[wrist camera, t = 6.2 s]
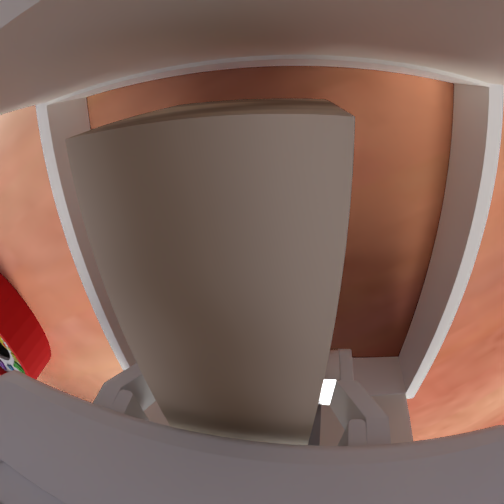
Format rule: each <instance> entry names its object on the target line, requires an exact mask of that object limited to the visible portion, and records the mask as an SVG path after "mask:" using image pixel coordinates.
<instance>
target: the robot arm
mask: <svg viewBox="0 0 504 504" xmlns="http://www.w3.org/2000/svg"><path fill="white" fill-rule="evenodd" d="M155 401H156V400H155V398H154V396H153V394H152V392H151V390H150V388H149V386H148V384H147V383H146V381H145V379H144V377H143V375H142V373H141V371H140V368H139V366H138V364H137V363H135V364H134V365H132V366H131V367H129V368H127V369H126V370H124V371H123V372H121V373H119V374H118V375H116V376H115V377H113V378H111V379H110V380H108V381H106V382H105V383H104V384H103V386H102V388H101V389H100V391H99V393H98V395H97V397H96V398H95V400H94V402H93V403H91V402H88V401H85V400H83V399H80V398H77V397H75V396H72V395H70V394H67V393H65V392H63V391H60V390H58V389H56V388H53V387H51V386H49V385H47V384H44V383H42V382H40V381H38V380H36V379H34V378H32V377H30V376H28V375H26V374H24V373H22V372H20V371H17V370H12V371H10V372H7V373H5V374H3V375H1V376H0V504H504V425H497V426H493V427H489V428H485V429H481V430H476V431H472V432H467V433H462V434H457V435H452V436H446V437H440V438H434V439H427V440H420V441H412V442H403V443H392V444H391V438H390V426H389V417H388V416H387V415H386V414H385V413H384V411H383V410H382V409H381V408H380V407H379V406H378V404H377V403H376V402H375V401H374V400H373V398H372V397H371V396H370V395H369V394H368V393H367V391H366V390H365V389H364V388H363V387H362V386H361V384H360V383H359V382H358V381H354V375H353V362H352V351H351V349H330V352H329V357H328V362H327V367H326V372H325V376H324V381H323V385H322V390H321V394H320V399H319V403H318V404H325V405H330V407H331V409H332V410H333V412H334V414H335V415H336V417H337V418H338V420H339V422H340V423H341V425H342V426H343V428H344V430H345V431H344V433H343V435H342V437H341V439H340V441H339V443H338V445H337V446H314V445H293V444H279V443H268V442H258V441H249V440H242V439H234V438H228V437H221V436H215V435H210V434H204V433H199V432H194V431H189V430H184V429H180V428H175V427H171V426H167V425H163V424H159V423H155V422H151V421H149V419H148V417H147V416H146V414H145V413H144V410H145V409H147V408H148V407H149V406H150V405H151V404H153V403H154V402H155Z"/></svg>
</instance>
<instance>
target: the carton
mask: <svg viewBox="0 0 504 504" xmlns="http://www.w3.org/2000/svg"><path fill="white" fill-rule="evenodd" d="M266 66H329V67H347V68H360V69H370V70H379V71H387V72H395V73H402V74H408V75H414V76H420V77H425V78H430V79H435V80H440V81H445V82H449V83H453V84H454V106H453V125H452V139H451V149H450V158H449V167H448V174H447V181H446V188H445V194H444V200H443V205H442V211H441V216H440V221H439V226H438V230H437V235H436V239H435V244H434V248H433V252H432V256H431V260H430V263H429V267H428V271H427V274H426V278H425V281H424V285H423V288H422V292H421V295H420V298H419V301H418V304H417V307H416V310H415V313H414V316H413V319H412V322H411V325H410V328H409V330H408V333H407V336H406V338H405V341H404V344H403V346H402V349H401V351H400V354H399V356H397V357H366V358H352V362H353V375H354V381H358V382H359V383H360V384H361V386H362V387H363V388H364V389H365V390H366V391H367V393H368V394H369V395H370V396H371V397H372V398H373V400H374V401H375V402H376V403H377V404H378V406H379V407H380V408H381V409H382V410H383V411H384V413H385V414H386V415H387V416H388V417H389V426H390V438H391V444H392V443H403V442H412V441H413V436H412V429H411V423H410V417H409V411H408V405H407V400H406V399H409V398H413V397H414V396H415V394H416V392H417V391H418V389H419V387H420V385H421V384H422V382H423V380H424V378H425V377H426V375H427V373H428V371H429V369H430V367H431V365H432V363H433V362H434V360H435V358H436V356H437V354H438V352H439V350H440V348H441V345H442V343H443V341H444V339H445V337H446V335H447V333H448V330H449V328H450V326H451V324H452V321H453V319H454V317H455V314H456V312H457V309H458V307H459V305H460V302H461V299H462V297H463V294H464V292H465V289H466V286H467V284H468V281H469V278H470V275H471V272H472V269H473V266H474V263H475V260H476V257H477V253H478V250H479V247H480V243H481V240H482V236H483V233H484V229H485V225H486V221H487V217H488V213H489V208H490V204H491V199H492V194H493V189H494V184H495V178H496V172H497V166H498V159H499V151H500V142H501V132H502V120H503V99H504V0H0V115H2V114H5V113H8V112H12V111H15V110H19V109H22V108H26V107H30V106H34V105H36V113H37V120H38V126H39V132H40V138H41V143H42V149H43V154H44V159H45V163H46V168H47V172H48V176H49V181H50V185H51V189H52V193H53V196H54V200H55V204H56V207H57V211H58V214H59V218H60V221H61V224H62V227H63V231H64V234H65V237H66V240H67V243H68V246H69V249H70V252H71V254H72V257H73V260H74V263H75V265H76V268H77V271H78V273H79V276H80V279H81V281H82V284H83V286H84V289H85V291H86V293H87V296H88V298H89V301H90V303H91V305H92V307H93V310H94V312H95V314H96V316H97V319H98V321H99V323H100V325H101V327H102V329H103V332H104V334H105V336H106V338H107V340H108V342H109V344H110V346H111V348H112V350H113V352H114V354H115V356H116V358H117V359H118V361H119V363H120V365H121V367H122V369H123V371H124V370H126V369H127V368H129V367H131V366H132V365H134V364H135V363H137V362H136V360H135V358H134V356H133V354H132V352H131V349H130V347H129V345H128V343H127V341H126V338H125V336H124V334H123V331H122V329H121V327H120V324H119V322H118V319H117V317H116V315H115V312H114V310H113V307H112V305H111V302H110V299H109V297H108V294H107V292H106V289H105V286H104V283H103V281H102V278H101V275H100V272H99V269H98V266H97V263H96V260H95V257H94V254H93V251H92V248H91V245H90V242H89V238H88V235H87V232H86V228H85V225H84V221H83V218H82V214H81V210H80V206H79V203H78V199H77V195H76V190H75V186H74V182H73V177H72V173H71V168H70V163H69V158H68V153H67V148H66V142H65V139H67V138H70V137H72V136H75V135H78V134H81V133H83V132H86V131H89V130H91V129H90V122H89V115H88V108H87V100H86V97H88V96H92V95H95V94H98V93H102V92H105V91H109V90H113V89H117V88H121V87H125V86H129V85H133V84H138V83H142V82H147V81H152V80H157V79H162V78H167V77H173V76H179V75H185V74H192V73H199V72H206V71H215V70H224V69H235V68H248V67H266ZM144 413H145V414H146V416H147V417H148V419H149V421H151V422H155V423H159V424H163V425H167V426H170V425H169V423H168V421H167V420H166V418H165V416H164V414H163V412H162V411H161V409H160V407H159V405H158V403H157V402H156V401H155V402H154V403H153V404H151V405H150V406H149V407H148V408H147V409H145V410H144ZM344 431H345V430H344V428H343V426H342V425H341V423H340V422H339V420H338V418H337V417H336V415H335V414H334V412H333V410H332V409H331V407H330V405H325V404H321V425H320V444H319V446H337V445H338V443H339V441H340V439H341V437H342V435H343V433H344Z"/></svg>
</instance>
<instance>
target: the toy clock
mask: <svg viewBox="0 0 504 504" xmlns="http://www.w3.org/2000/svg"><path fill="white" fill-rule="evenodd" d="M50 357H51V350H50V346H49V342H48V340H47V338H46V335H45V333H44V331H43V329H42V328H41V326H40V324H39V322H38V321H37V319H36V317H35V316H34V314H33V313H32V311H31V310H30V308H29V307H28V306H27V304H26V303H25V301H24V300H23V299H22V297H21V296H20V295H19V294H18V292H17V291H16V290H15V289H14V287H13V286H12V285H11V284H10V283H9V282H8V280H7V279H6V278H5V277H4V276H3V275H2V274H1V273H0V376H1V375H3V374H5V373H7V372H10V371H12V370H17V371H20V372H22V373H24V374H26V375H28V376H30V377H32V378H34V379H37V377H38V376H39V374H40V373H41V372H42V370H43V369H44V367H45V366H46V364H47V363H48V361H49V360H50Z"/></svg>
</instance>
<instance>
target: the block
mask: <svg viewBox="0 0 504 504" xmlns="http://www.w3.org/2000/svg"><path fill="white" fill-rule="evenodd" d="M354 134H355V116H353V115H351V114H350V113H348V112H347V111H345V110H343V109H342V108H340V107H338V106H337V105H335V104H333V103H331V102H330V101H328V100H326V99H299V98H273V99H242V100H226V101H213V102H202V103H192V104H183V105H177V106H173V107H169V108H164V109H160V110H156V111H152V112H148V113H145V114H141V115H137V116H134V117H130V118H127V119H123V120H120V121H117V122H113V123H110V124H107V125H104V126H101V127H98V128H95V129H92V130H89V131H86V132H83V133H81V134H78V135H75V136H72V137H70V138H67V139H65V142H66V148H67V153H68V158H69V163H70V168H71V173H72V177H73V182H74V186H75V190H76V195H77V199H78V203H79V206H80V210H81V214H82V218H83V221H84V225H85V228H86V232H87V235H88V238H89V242H90V245H91V248H92V251H93V254H94V257H95V260H96V263H97V266H98V269H99V272H100V275H101V278H102V281H103V283H104V286H105V289H106V292H107V294H108V297H109V299H110V302H111V305H112V307H113V310H114V312H115V315H116V317H117V319H118V322H119V324H120V327H121V329H122V331H123V334H124V336H125V338H126V341H127V343H128V345H129V347H130V349H131V352H132V354H133V356H134V358H135V360H136V362H137V364H138V366H139V368H140V371H141V373H142V375H143V377H144V379H145V381H146V383H147V384H148V386H149V388H150V390H151V392H152V394H153V396H154V398H155V400H156V402H157V403H158V405H159V407H160V409H161V411H162V412H163V414H164V416H165V418H166V420H167V421H168V423H169V425H170V426H171V427H175V428H180V429H184V430H189V431H194V432H199V433H204V434H210V435H215V436H221V437H228V438H234V439H242V440H249V441H258V442H268V443H279V444H293V445H314V446H319V444H320V425H321V404H318V403H319V399H320V394H321V390H322V385H323V381H324V376H325V372H326V367H327V362H328V357H329V352H330V347H331V342H332V336H333V331H334V325H335V319H336V313H337V307H338V301H339V295H340V288H341V281H342V274H343V266H344V259H345V251H346V242H347V233H348V223H349V213H350V202H351V189H352V175H353V157H354Z"/></svg>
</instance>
